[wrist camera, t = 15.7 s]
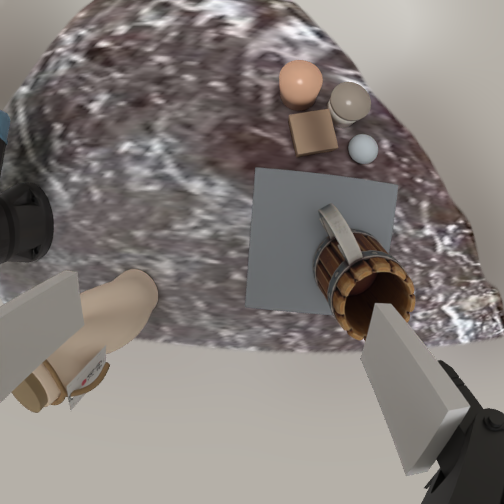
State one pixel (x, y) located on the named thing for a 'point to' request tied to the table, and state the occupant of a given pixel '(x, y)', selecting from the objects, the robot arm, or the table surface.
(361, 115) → the jar
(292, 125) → the walnut block
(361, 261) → the mug
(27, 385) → the cream corked bottle
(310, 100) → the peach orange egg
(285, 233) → the slate pad
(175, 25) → the table surface
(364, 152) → the grey ball
